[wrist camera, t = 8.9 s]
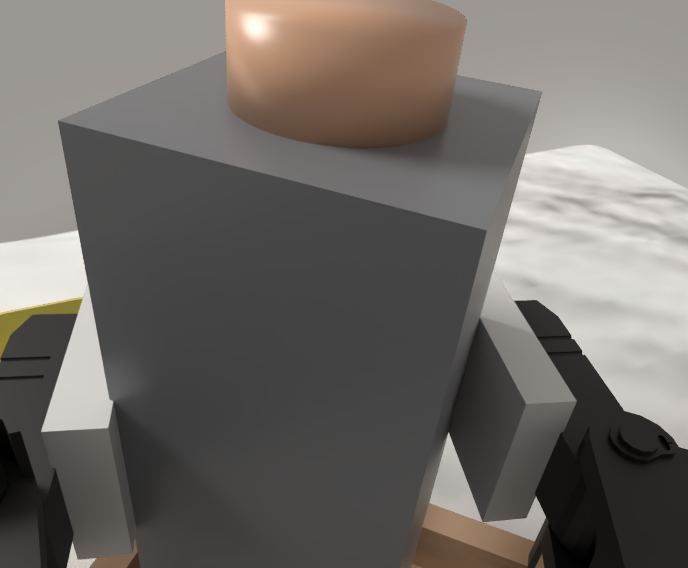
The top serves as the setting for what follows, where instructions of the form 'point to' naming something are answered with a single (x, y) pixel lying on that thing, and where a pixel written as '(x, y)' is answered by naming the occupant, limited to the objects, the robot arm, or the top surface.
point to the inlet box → (433, 545)
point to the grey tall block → (294, 277)
